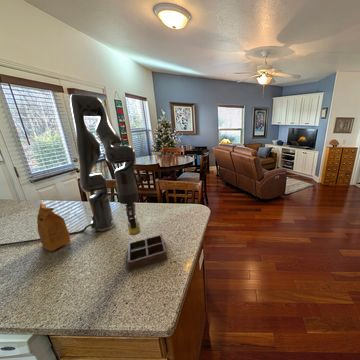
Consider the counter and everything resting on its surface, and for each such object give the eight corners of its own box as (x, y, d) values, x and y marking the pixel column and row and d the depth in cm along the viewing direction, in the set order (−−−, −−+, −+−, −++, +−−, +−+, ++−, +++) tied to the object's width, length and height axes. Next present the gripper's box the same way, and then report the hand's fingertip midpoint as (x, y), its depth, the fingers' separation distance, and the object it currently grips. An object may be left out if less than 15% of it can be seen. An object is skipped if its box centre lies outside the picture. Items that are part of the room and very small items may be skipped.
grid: (129, 270, 81) (127, 263, 80) (129, 249, 94) (128, 242, 93) (167, 258, 88) (166, 251, 87) (162, 240, 101) (161, 234, 100)
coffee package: (64, 235, 105) (53, 199, 98) (74, 243, 98) (62, 205, 92) (40, 245, 96) (25, 206, 90) (48, 253, 90) (33, 213, 84)
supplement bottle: (132, 230, 91) (129, 215, 89) (142, 230, 92) (139, 214, 89) (127, 236, 87) (124, 220, 84) (138, 235, 87) (135, 219, 84)
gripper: (118, 187, 87) (125, 220, 92) (116, 198, 75) (124, 235, 80) (136, 185, 90) (142, 216, 95) (137, 195, 78) (143, 230, 84)
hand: (133, 224), depth 88 cm, fingers closed on supplement bottle, 4 cm apart
